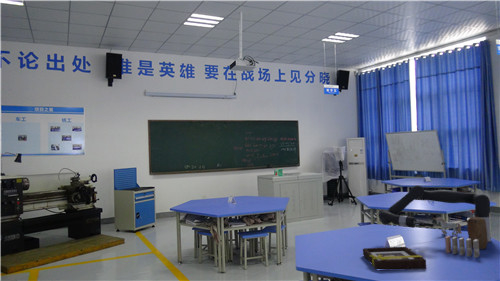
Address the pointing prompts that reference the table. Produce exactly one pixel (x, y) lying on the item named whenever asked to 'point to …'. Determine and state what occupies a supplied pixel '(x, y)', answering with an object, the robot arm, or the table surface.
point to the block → (477, 231)
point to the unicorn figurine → (448, 226)
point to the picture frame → (394, 258)
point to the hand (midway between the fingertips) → (433, 225)
